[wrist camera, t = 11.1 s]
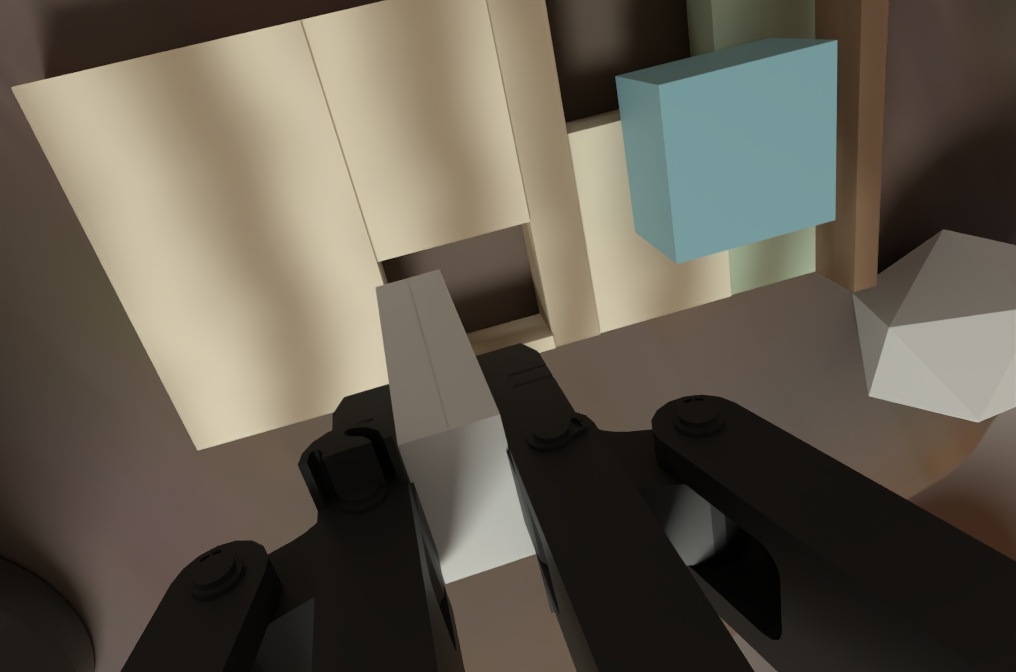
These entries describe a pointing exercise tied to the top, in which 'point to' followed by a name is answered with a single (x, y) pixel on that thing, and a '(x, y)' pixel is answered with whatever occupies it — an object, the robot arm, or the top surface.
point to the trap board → (400, 189)
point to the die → (943, 328)
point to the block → (731, 145)
